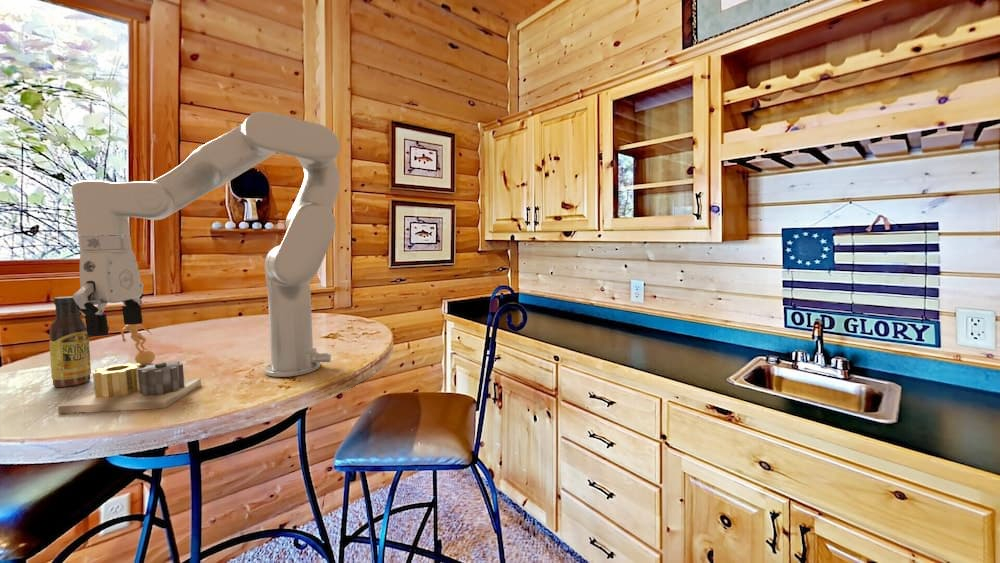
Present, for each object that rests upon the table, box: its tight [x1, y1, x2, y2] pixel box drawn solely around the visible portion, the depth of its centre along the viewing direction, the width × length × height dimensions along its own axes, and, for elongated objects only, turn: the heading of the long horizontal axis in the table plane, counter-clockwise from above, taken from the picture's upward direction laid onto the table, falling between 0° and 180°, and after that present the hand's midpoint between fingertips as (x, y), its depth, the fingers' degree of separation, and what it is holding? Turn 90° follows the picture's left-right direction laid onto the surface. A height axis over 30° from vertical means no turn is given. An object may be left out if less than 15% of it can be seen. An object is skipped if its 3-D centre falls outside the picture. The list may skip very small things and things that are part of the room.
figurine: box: [120, 324, 156, 366], centre depth 108 cm, size 8×6×12 cm
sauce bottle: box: [48, 295, 92, 388], centre depth 94 cm, size 6×6×20 cm
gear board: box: [57, 361, 202, 415], centre depth 86 cm, size 18×13×7 cm
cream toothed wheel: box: [92, 362, 142, 399], centre depth 86 cm, size 7×7×5 cm
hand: (116, 329), depth 85 cm, fingers open, 9 cm apart
